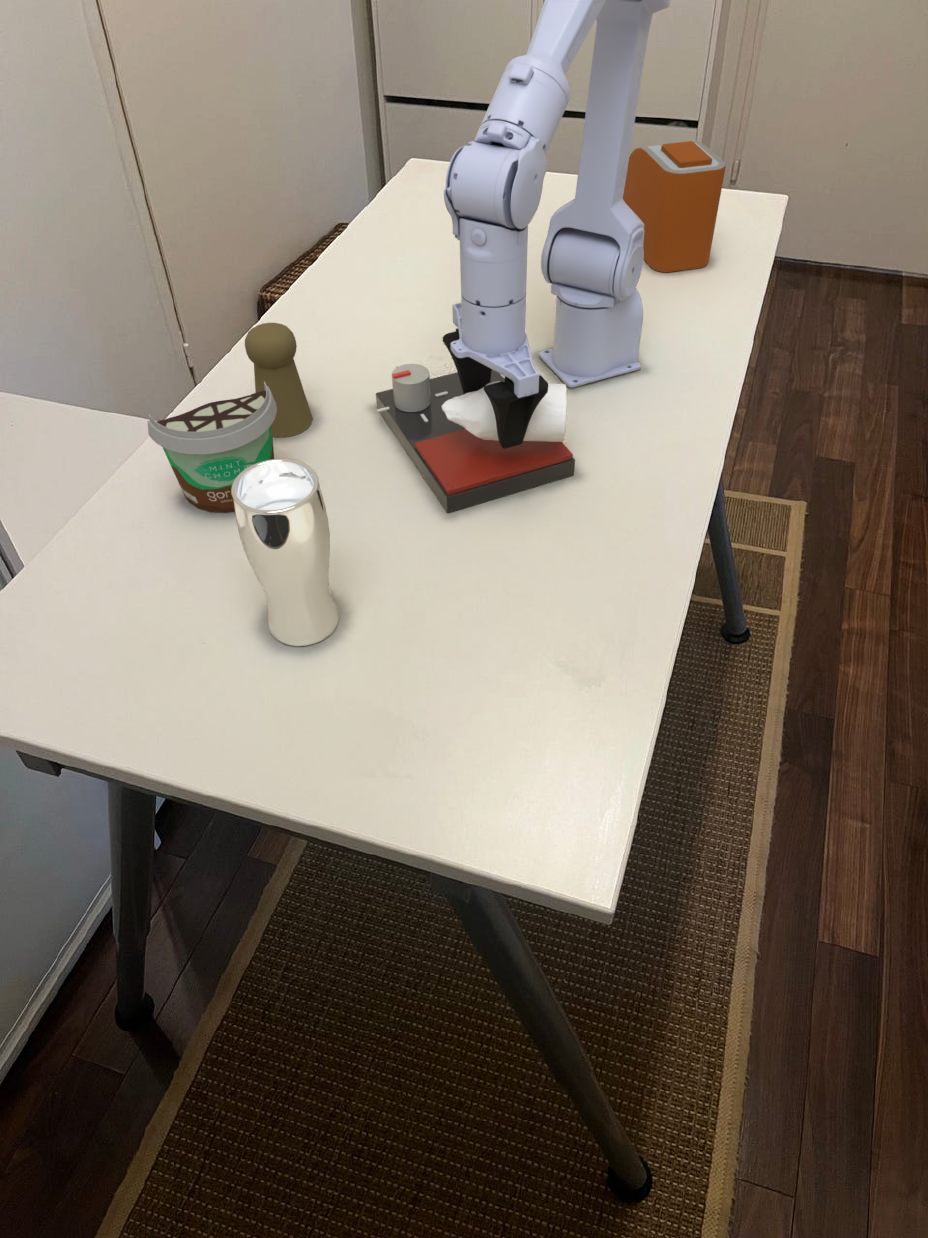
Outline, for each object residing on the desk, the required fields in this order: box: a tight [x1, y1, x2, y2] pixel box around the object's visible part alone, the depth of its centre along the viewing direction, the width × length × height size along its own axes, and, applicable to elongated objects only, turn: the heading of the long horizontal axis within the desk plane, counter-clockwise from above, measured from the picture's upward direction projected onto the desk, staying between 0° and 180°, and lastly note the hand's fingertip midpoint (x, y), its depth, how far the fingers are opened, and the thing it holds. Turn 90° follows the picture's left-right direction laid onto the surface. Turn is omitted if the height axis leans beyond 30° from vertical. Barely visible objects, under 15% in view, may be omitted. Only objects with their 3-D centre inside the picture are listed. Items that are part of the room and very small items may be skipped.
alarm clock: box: [623, 140, 726, 273], centre depth 124 cm, size 15×8×14 cm, turn 13°
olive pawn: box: [244, 322, 314, 438], centre depth 98 cm, size 6×6×11 cm
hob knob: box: [391, 363, 431, 412], centre depth 99 cm, size 4×4×4 cm
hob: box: [375, 369, 576, 514], centre depth 98 cm, size 15×21×2 cm
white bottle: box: [442, 381, 568, 443], centre depth 90 cm, size 6×12×6 cm, turn 87°
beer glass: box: [231, 458, 340, 647], centre depth 75 cm, size 7×7×15 cm
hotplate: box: [415, 429, 574, 495], centre depth 93 cm, size 14×9×1 cm, turn 114°
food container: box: [147, 381, 277, 514], centre depth 89 cm, size 12×6×10 cm, turn 117°
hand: (493, 422), depth 91 cm, fingers closed on white bottle, 7 cm apart
